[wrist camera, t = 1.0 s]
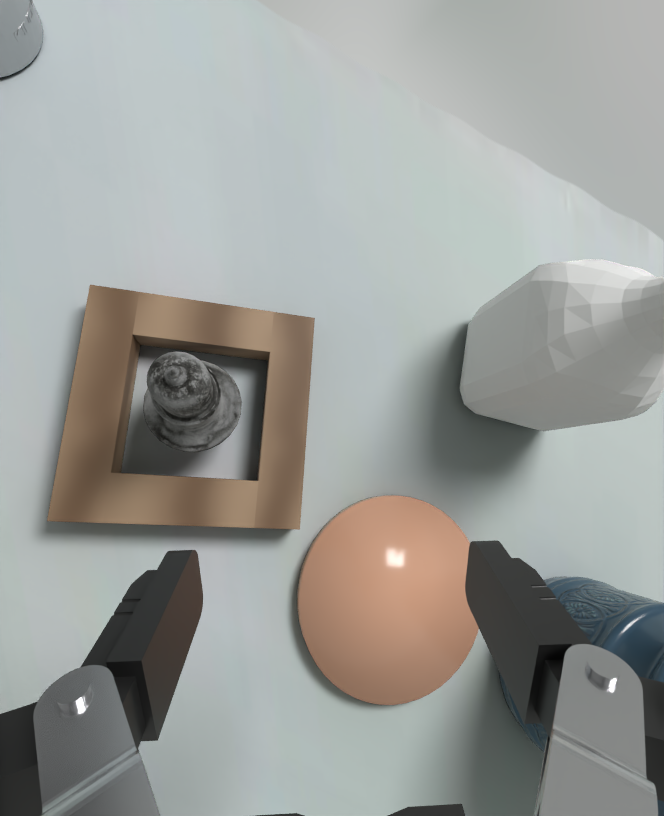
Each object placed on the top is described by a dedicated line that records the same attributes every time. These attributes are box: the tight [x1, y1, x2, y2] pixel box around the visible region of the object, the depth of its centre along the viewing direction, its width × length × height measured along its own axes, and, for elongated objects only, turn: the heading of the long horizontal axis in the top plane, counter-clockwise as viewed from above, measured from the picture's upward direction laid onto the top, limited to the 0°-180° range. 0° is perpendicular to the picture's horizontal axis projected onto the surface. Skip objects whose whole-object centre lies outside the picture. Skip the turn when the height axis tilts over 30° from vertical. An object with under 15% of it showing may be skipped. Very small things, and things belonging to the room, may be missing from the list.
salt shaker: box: [143, 351, 242, 452], centre depth 23 cm, size 6×6×12 cm
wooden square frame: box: [47, 285, 315, 529], centre depth 27 cm, size 15×15×2 cm
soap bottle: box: [460, 259, 664, 431], centre depth 24 cm, size 10×10×23 cm
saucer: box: [297, 495, 479, 705], centre depth 29 cm, size 14×14×1 cm
